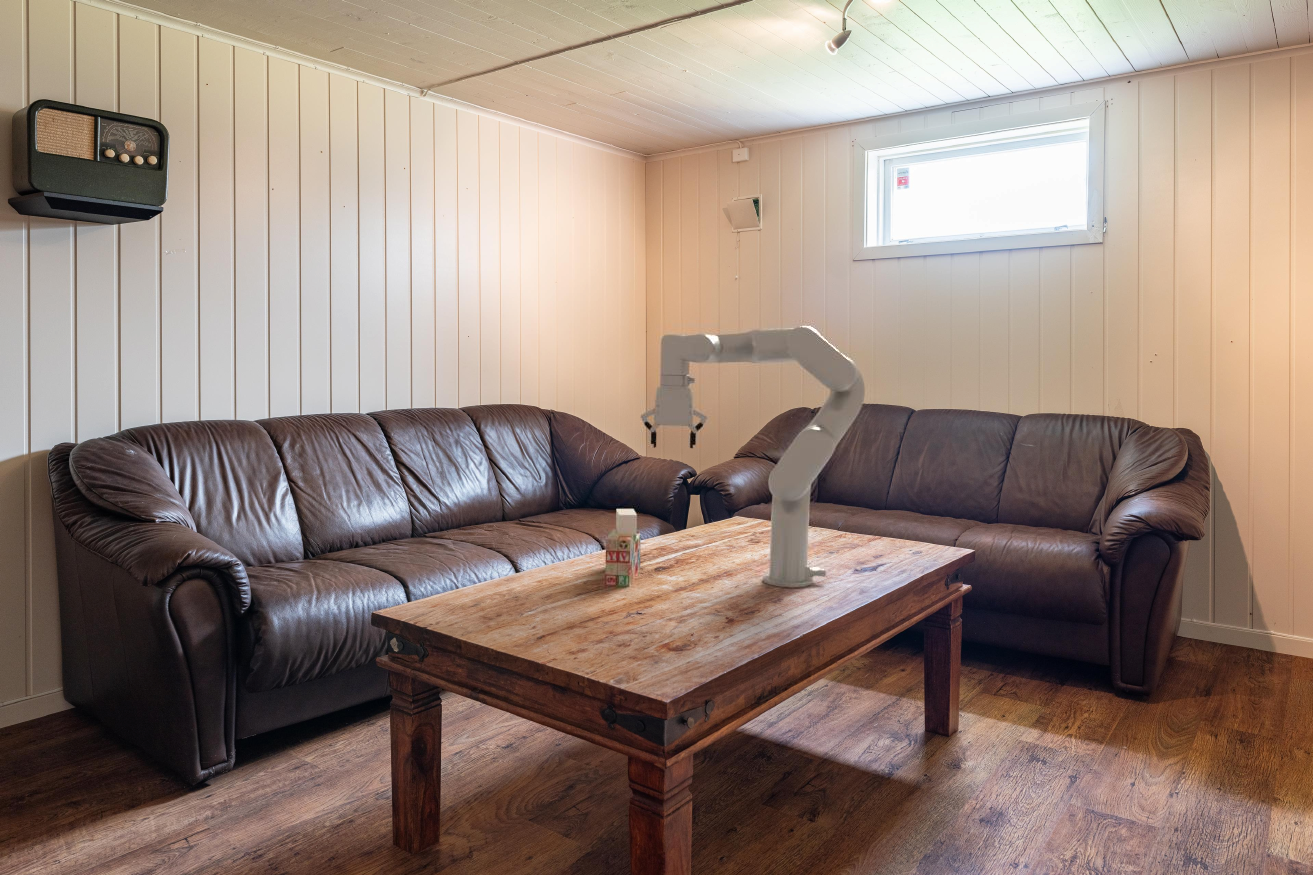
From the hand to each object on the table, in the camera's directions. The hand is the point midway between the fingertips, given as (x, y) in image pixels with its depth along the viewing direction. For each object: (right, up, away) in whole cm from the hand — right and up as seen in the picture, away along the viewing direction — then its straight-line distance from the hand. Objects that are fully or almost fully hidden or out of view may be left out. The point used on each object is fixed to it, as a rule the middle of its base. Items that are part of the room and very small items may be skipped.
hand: (673, 447), depth 228 cm
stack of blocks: (-13, -34, -2) cm, 36 cm away
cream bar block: (-12, -21, -5) cm, 25 cm away
